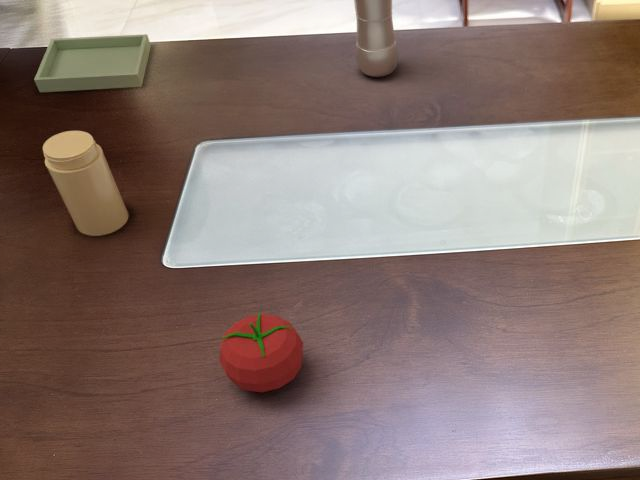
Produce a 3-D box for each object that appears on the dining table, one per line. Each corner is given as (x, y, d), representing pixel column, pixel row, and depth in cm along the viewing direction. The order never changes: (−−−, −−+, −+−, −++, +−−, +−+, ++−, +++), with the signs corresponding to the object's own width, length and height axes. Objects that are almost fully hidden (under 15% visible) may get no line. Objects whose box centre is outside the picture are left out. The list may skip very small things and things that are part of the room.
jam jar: (72, 238, 85) (34, 162, 77) (79, 206, 88) (43, 131, 80) (126, 232, 86) (93, 156, 77) (130, 201, 89) (99, 125, 81)
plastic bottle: (405, 64, 113) (399, -76, 98) (390, 85, 109) (382, -57, 93) (366, 57, 114) (355, -82, 99) (350, 78, 110) (336, -64, 94)
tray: (39, 92, 105) (33, 79, 103) (56, 51, 112) (50, 38, 111) (141, 86, 106) (137, 74, 105) (151, 46, 114) (147, 34, 113)
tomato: (233, 346, 75) (216, 294, 69) (309, 342, 75) (299, 290, 69) (224, 409, 70) (204, 358, 64) (306, 404, 70) (294, 354, 64)
